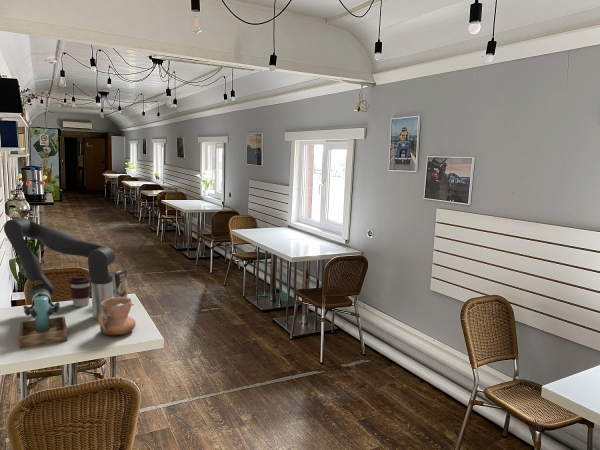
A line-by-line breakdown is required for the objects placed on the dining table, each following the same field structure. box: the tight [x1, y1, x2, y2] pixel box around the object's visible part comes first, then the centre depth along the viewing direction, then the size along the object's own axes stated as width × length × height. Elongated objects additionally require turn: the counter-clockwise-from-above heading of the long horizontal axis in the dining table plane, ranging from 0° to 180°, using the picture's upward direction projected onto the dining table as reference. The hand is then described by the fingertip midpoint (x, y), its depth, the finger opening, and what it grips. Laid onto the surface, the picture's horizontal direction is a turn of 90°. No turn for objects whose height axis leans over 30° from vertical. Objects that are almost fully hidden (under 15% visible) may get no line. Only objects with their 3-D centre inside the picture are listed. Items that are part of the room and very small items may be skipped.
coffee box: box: [108, 268, 128, 298], centre depth 242 cm, size 9×6×16 cm
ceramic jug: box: [97, 296, 136, 336], centre depth 203 cm, size 18×14×14 cm
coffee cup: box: [68, 273, 91, 308], centre depth 235 cm, size 10×10×15 cm
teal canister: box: [34, 296, 50, 332], centre depth 196 cm, size 5×5×14 cm
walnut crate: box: [18, 316, 68, 349], centre depth 197 cm, size 17×18×4 cm
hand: (42, 314), depth 193 cm, fingers closed on teal canister, 5 cm apart
